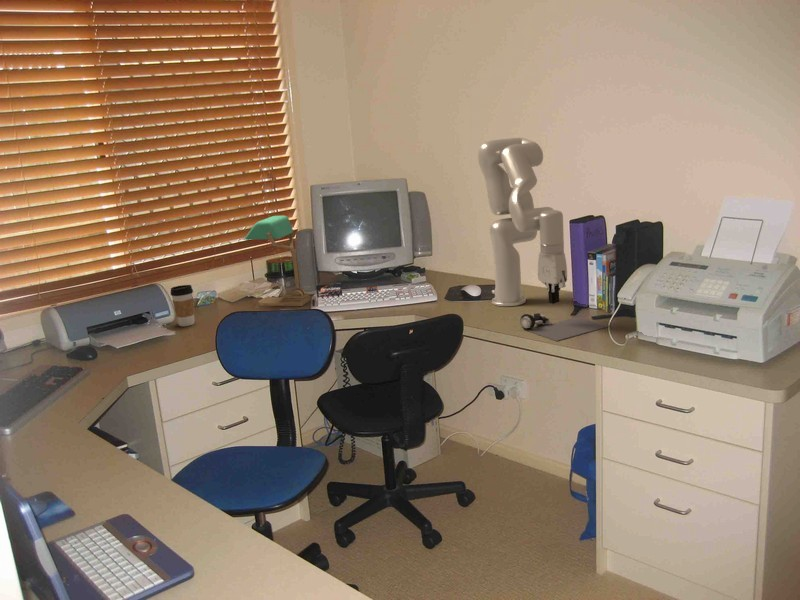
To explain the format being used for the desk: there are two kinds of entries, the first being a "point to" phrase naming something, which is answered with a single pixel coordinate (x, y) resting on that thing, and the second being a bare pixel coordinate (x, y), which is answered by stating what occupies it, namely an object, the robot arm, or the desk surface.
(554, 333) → the mat
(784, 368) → the desk surface
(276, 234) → the banker's lamp
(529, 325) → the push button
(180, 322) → the coffee cup
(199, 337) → the desk surface
